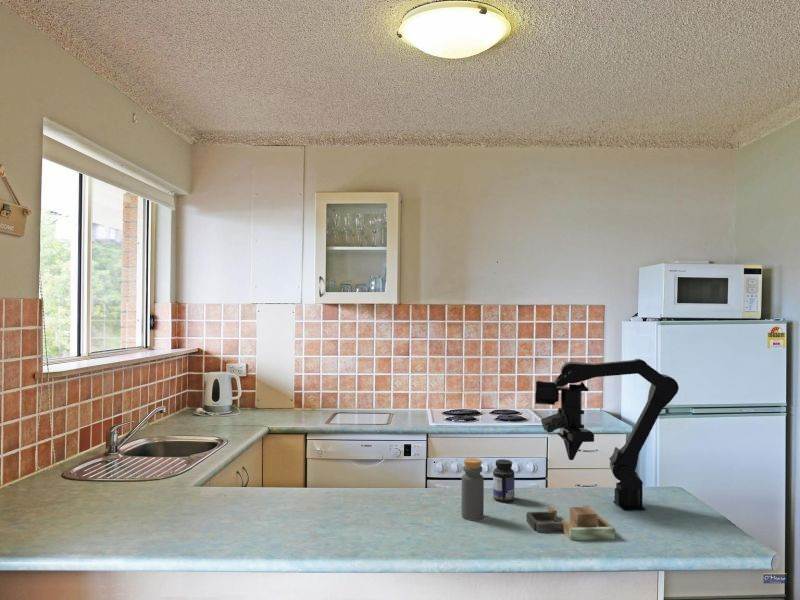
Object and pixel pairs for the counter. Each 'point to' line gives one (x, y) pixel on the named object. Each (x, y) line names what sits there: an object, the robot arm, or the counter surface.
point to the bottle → (472, 490)
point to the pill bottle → (503, 481)
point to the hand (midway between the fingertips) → (570, 459)
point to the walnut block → (582, 517)
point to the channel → (569, 526)
